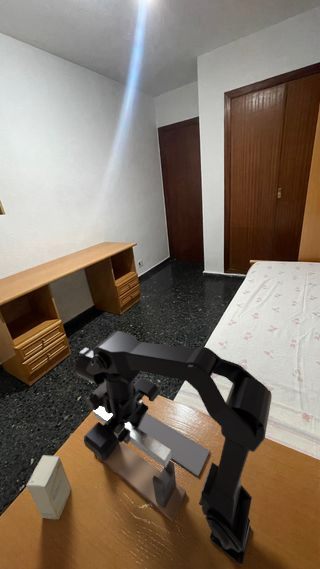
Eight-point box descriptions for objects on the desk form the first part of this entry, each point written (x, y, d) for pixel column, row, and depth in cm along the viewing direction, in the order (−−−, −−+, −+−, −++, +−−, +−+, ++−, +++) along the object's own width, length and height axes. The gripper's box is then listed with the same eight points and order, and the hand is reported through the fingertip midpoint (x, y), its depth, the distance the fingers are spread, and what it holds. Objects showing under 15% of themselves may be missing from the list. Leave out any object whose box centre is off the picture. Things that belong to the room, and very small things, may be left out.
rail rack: (185, 493, 54) (184, 467, 50) (172, 521, 49) (169, 495, 46) (109, 435, 68) (104, 412, 65) (94, 453, 64) (87, 430, 60)
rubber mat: (209, 451, 62) (209, 450, 62) (198, 477, 57) (198, 475, 56) (132, 405, 77) (132, 404, 77) (117, 422, 72) (117, 420, 72)
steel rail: (171, 457, 49) (170, 449, 48) (165, 467, 47) (164, 460, 46) (102, 410, 61) (100, 403, 60) (95, 417, 59) (93, 410, 58)
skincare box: (59, 520, 51) (44, 488, 47) (41, 518, 52) (24, 486, 47) (72, 486, 57) (60, 455, 52) (55, 485, 58) (42, 454, 53)
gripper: (123, 351, 60) (130, 395, 66) (59, 404, 46) (76, 453, 52) (157, 366, 54) (162, 413, 59) (96, 432, 40) (110, 485, 46)
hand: (130, 437), depth 54 cm, fingers closed on steel rail, 2 cm apart
